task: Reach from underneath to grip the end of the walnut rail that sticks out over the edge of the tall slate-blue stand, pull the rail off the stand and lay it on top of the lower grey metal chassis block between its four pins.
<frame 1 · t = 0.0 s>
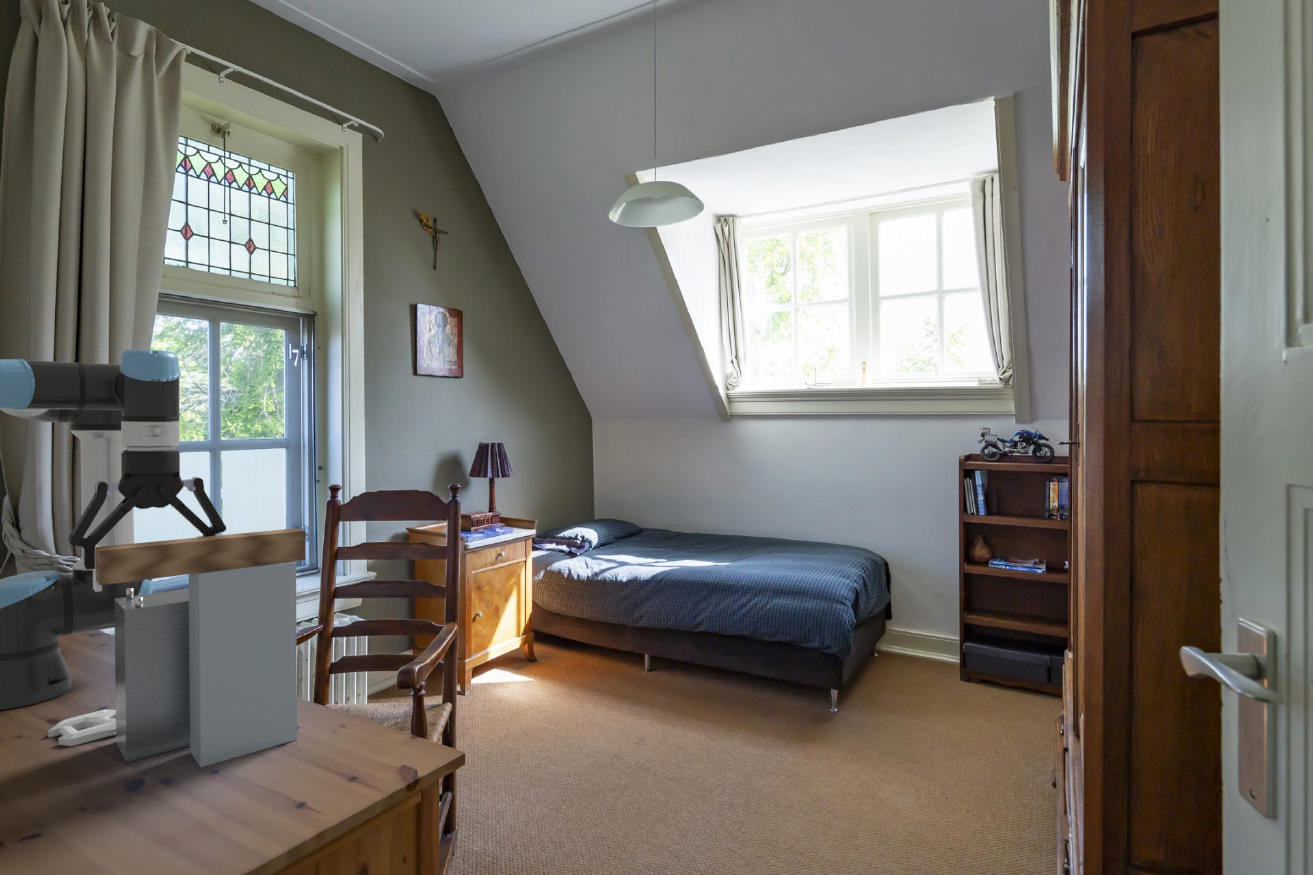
hand: (151, 583, 113), 28 cm above the table, fingers open, 13 cm apart
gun: (117, 730, 126), on the table
rail: (208, 569, 114), point 30 cm above the table, touching stand
stand: (244, 745, 119), on the table
chassis: (179, 736, 122), on the table
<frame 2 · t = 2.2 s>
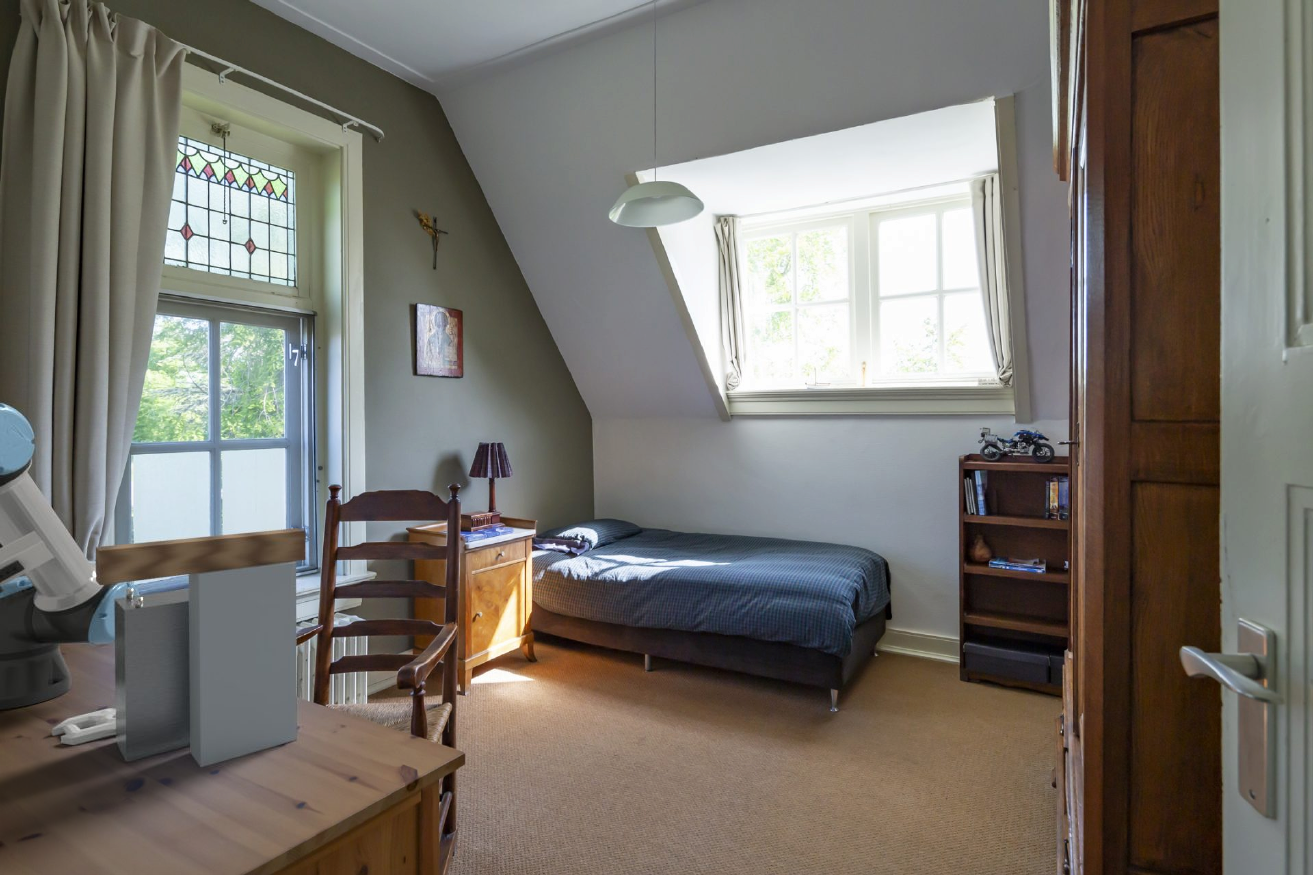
hand: (44, 543, 107), 35 cm above the table, fingers open, 13 cm apart
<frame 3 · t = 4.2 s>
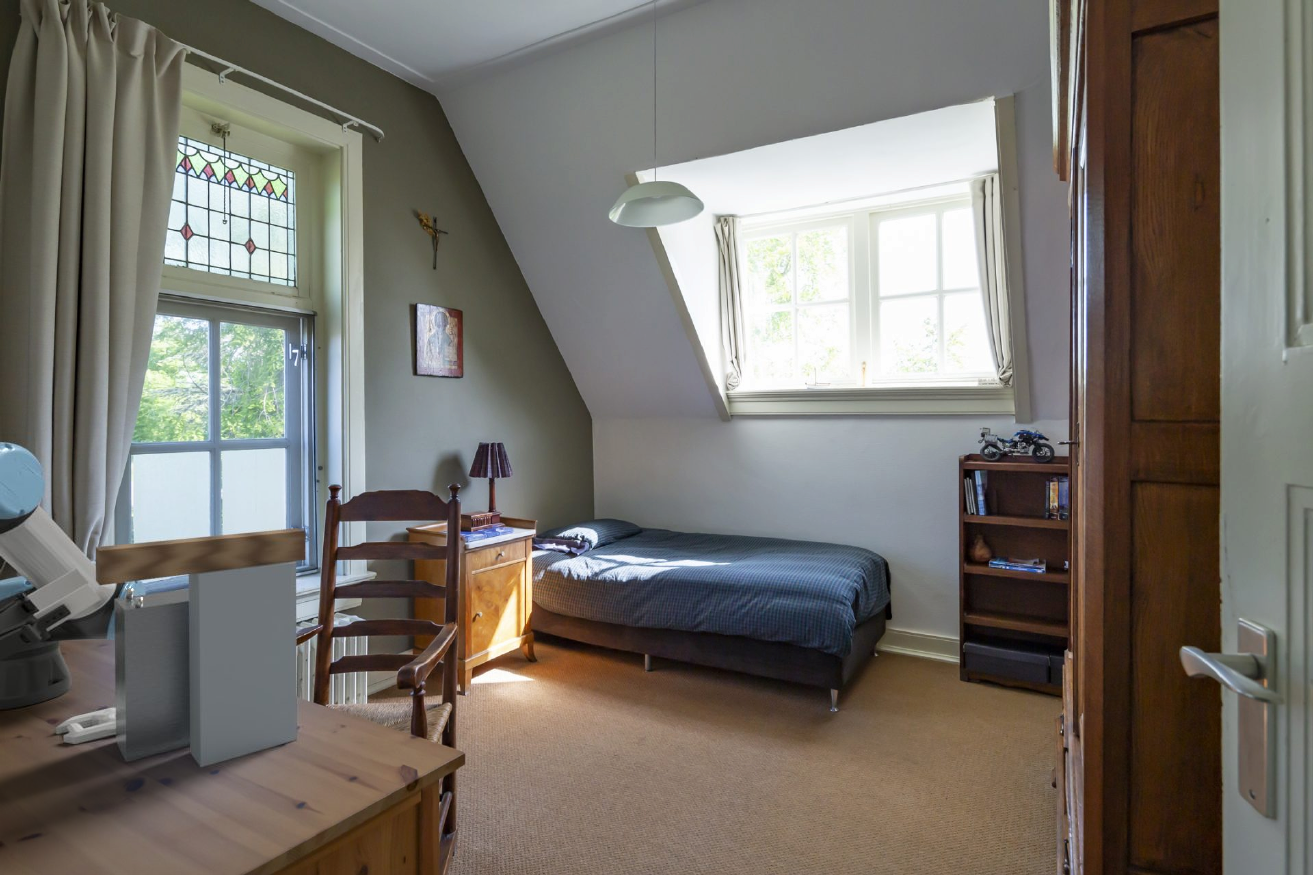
hand: (88, 582, 103), 30 cm above the table, fingers open, 13 cm apart
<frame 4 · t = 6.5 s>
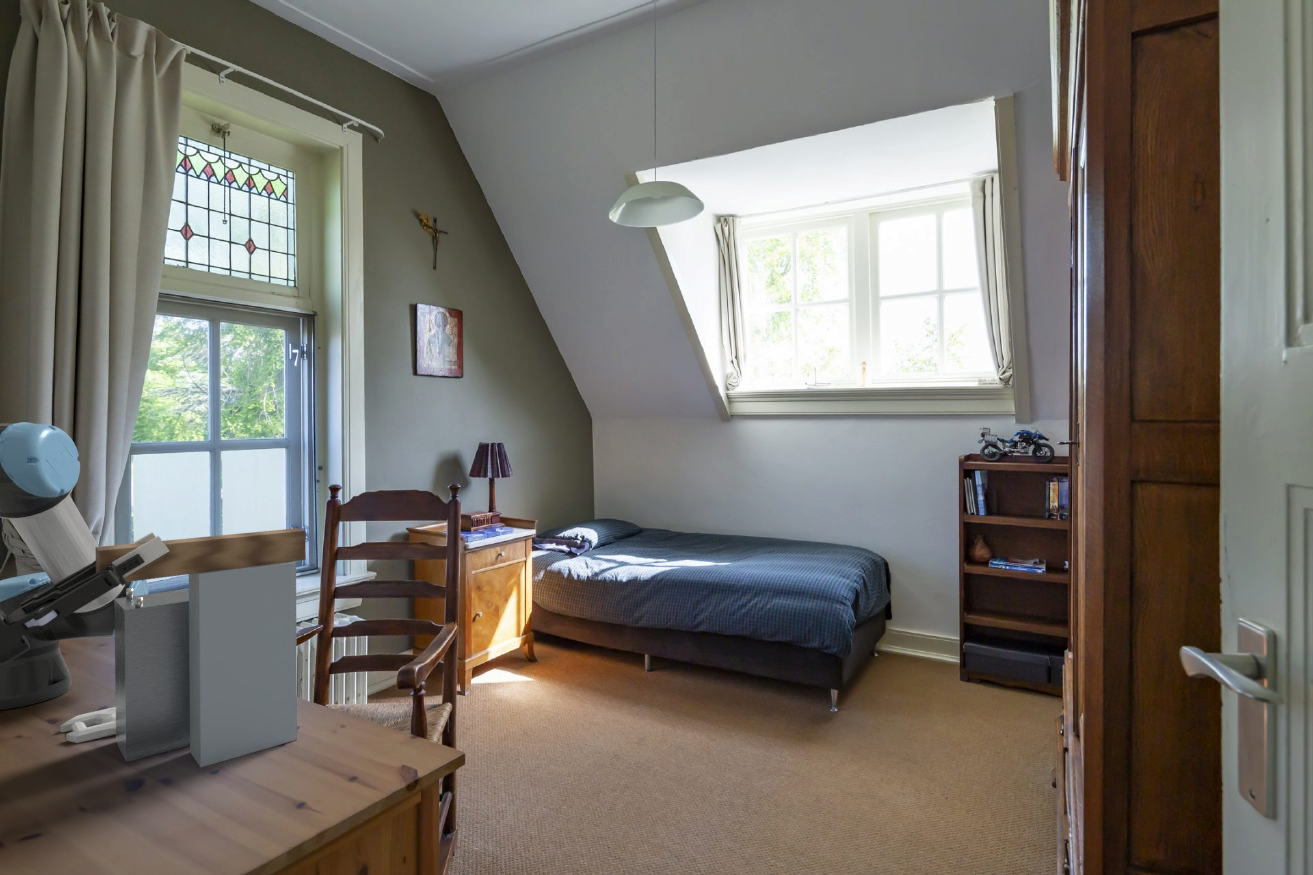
hand: (160, 541, 110), 35 cm above the table, fingers closed on rail, 4 cm apart
rail: (208, 569, 114), point 30 cm above the table, touching gripper, stand
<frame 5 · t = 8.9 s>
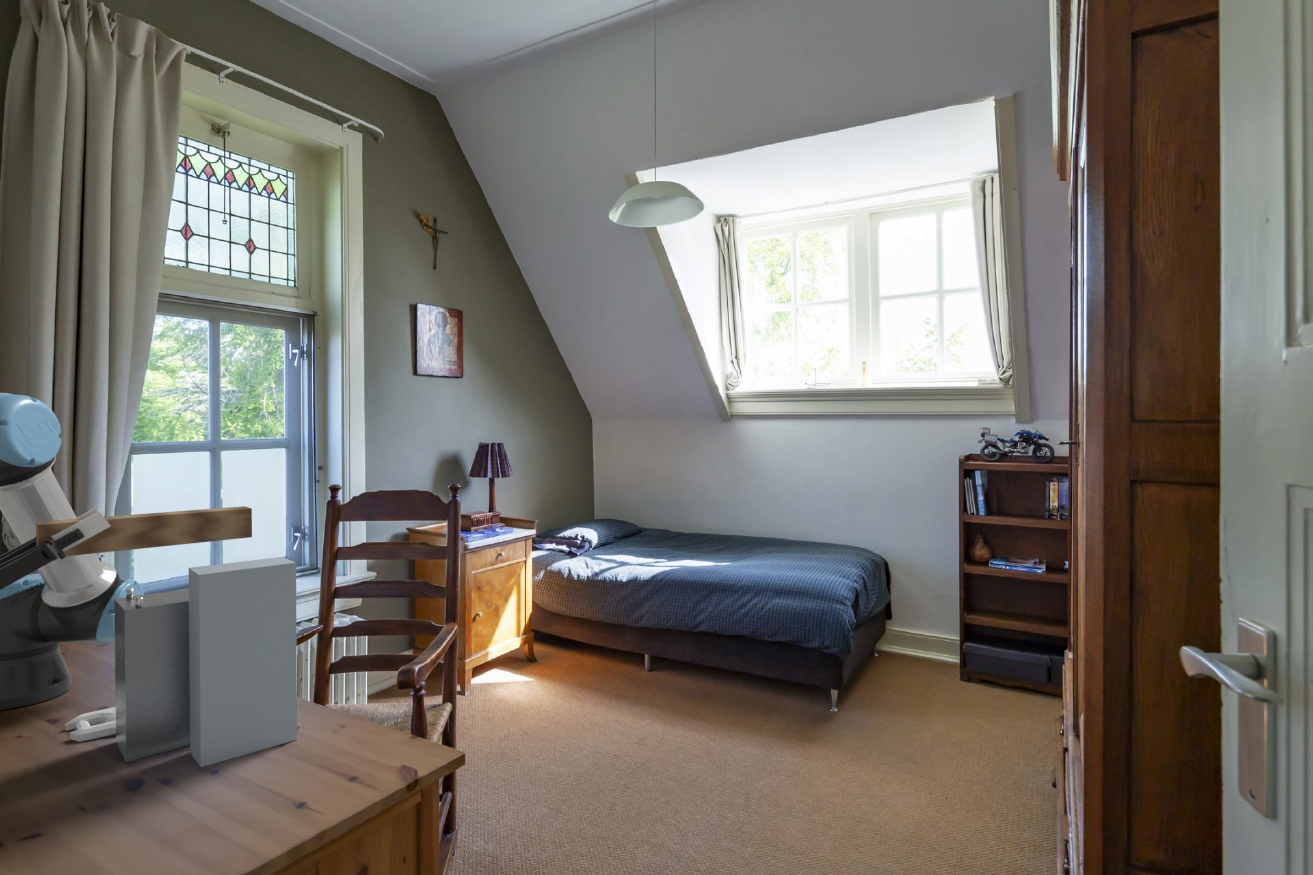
hand: (102, 517, 111), 39 cm above the table, fingers closed on rail, 4 cm apart
rail: (152, 545, 116), point 34 cm above the table, touching gripper
when the fingers open (31 cm above the table, at t = 11.5 s): rail drops 1 cm, resting on chassis.
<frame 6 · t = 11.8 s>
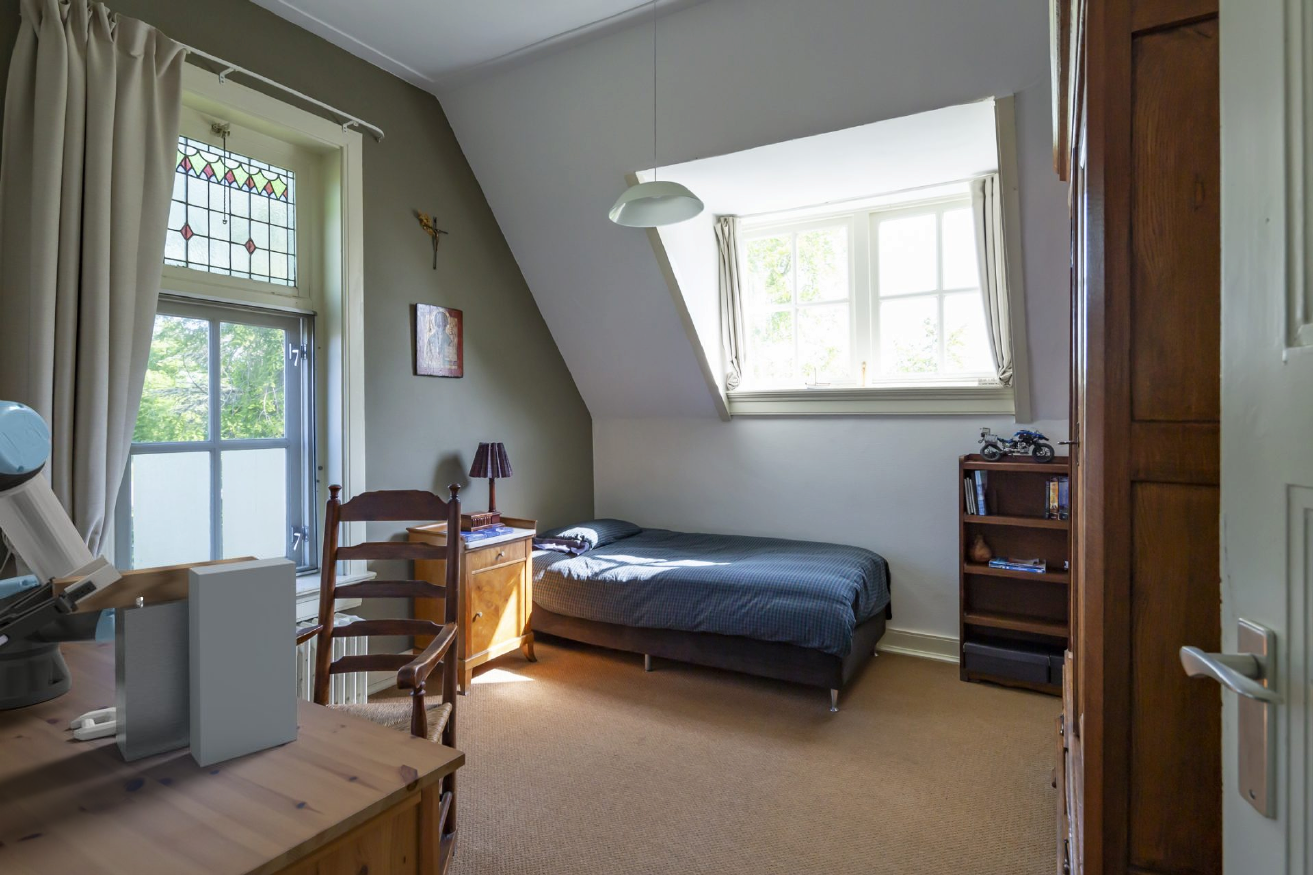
hand: (111, 565, 115), 30 cm above the table, fingers open, 8 cm apart
rail: (163, 598, 120), point 24 cm above the table, touching chassis
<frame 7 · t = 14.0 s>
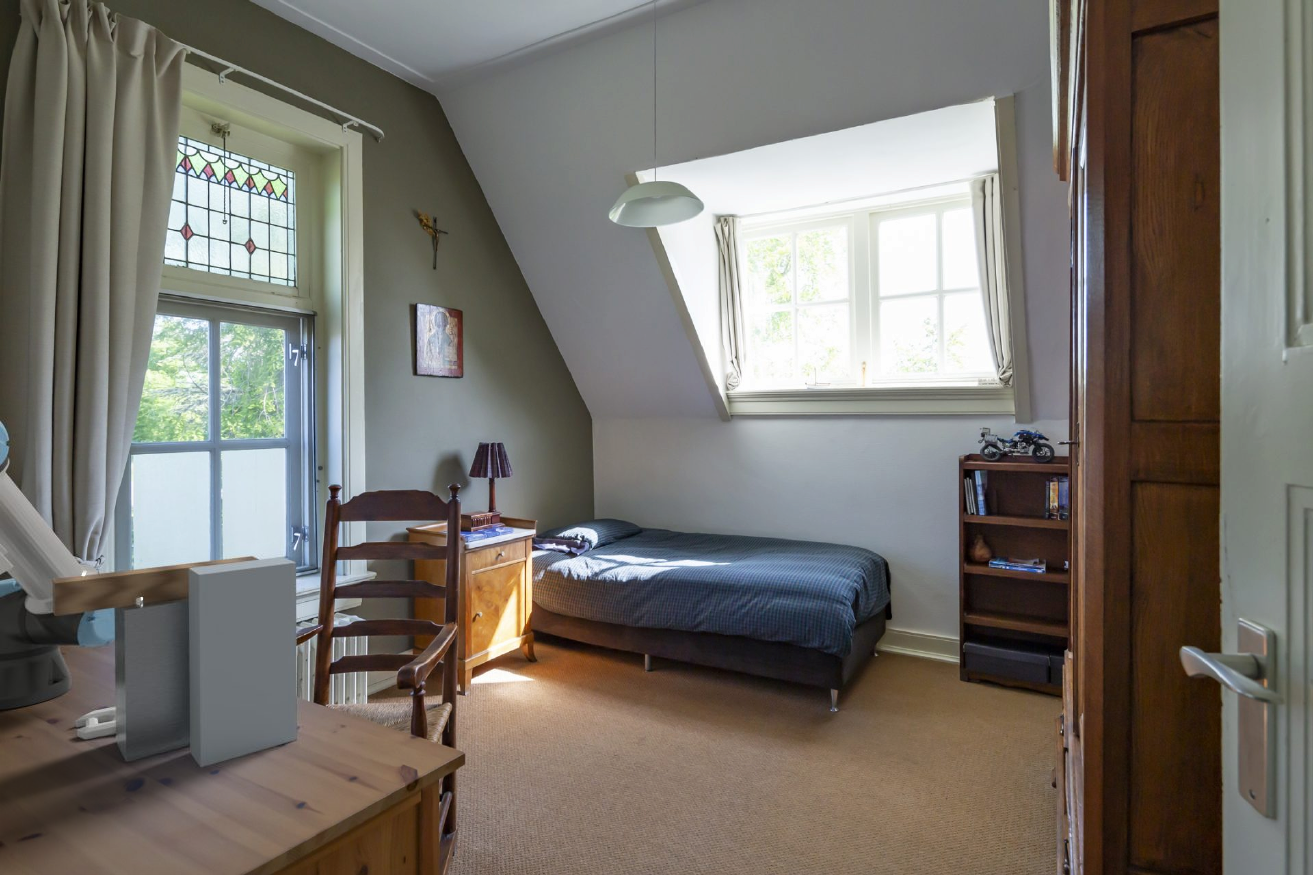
hand: (4, 551, 106), 34 cm above the table, fingers open, 13 cm apart
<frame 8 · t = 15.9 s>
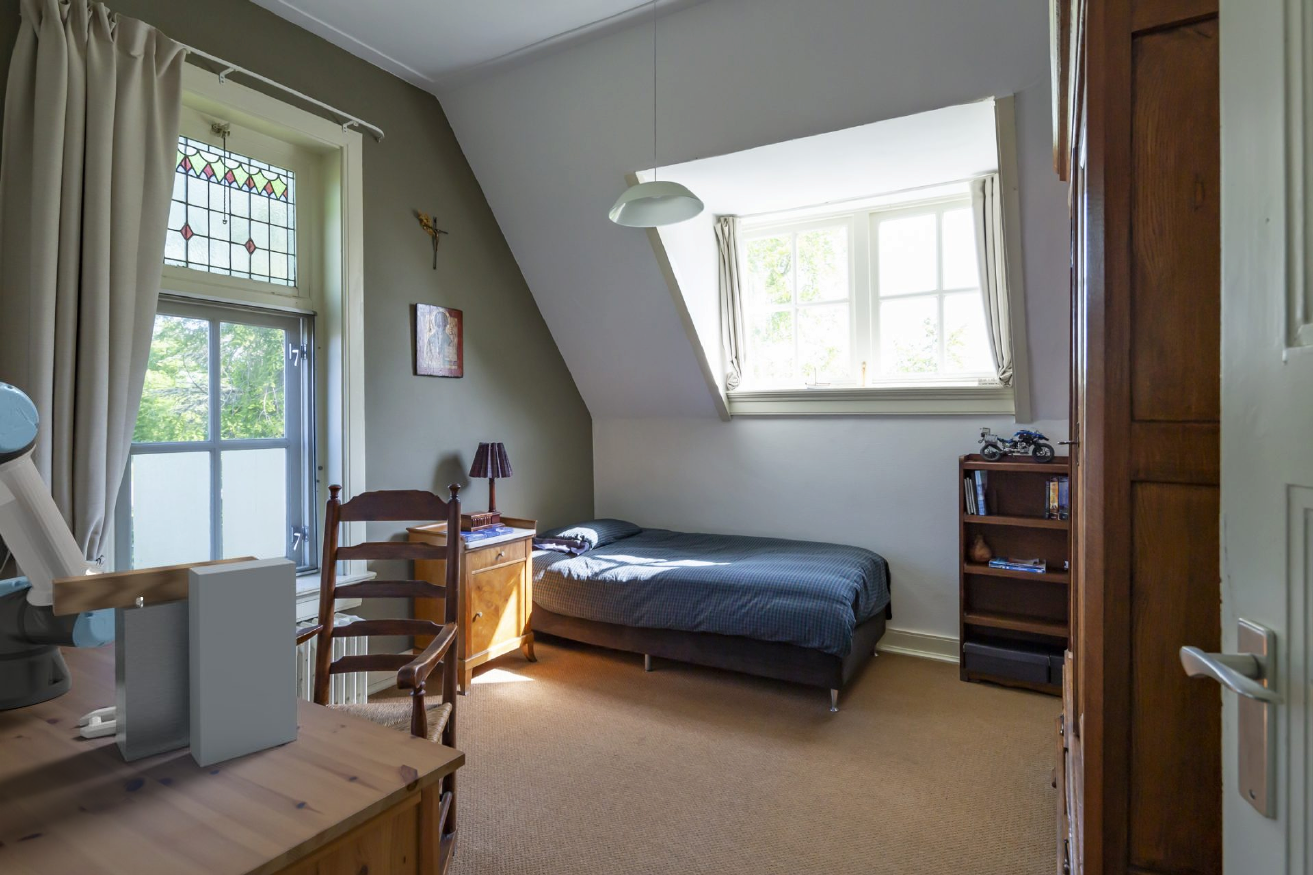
hand: (7, 486, 107), 44 cm above the table, fingers open, 13 cm apart
at the end: rail inside the target area (0.6 cm from its centre), point 24.0 cm above the table; rail tilted 0°; the gripper is holding nothing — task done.
